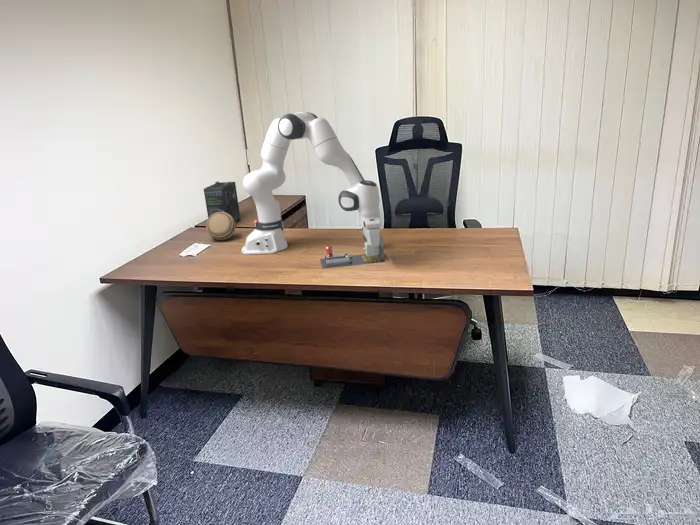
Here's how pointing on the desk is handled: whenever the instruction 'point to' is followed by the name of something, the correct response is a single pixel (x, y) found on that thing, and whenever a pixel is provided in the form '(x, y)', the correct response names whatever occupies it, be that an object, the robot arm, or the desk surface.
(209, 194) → the headset box
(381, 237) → the electrical switch
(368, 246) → the block
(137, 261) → the desk surface
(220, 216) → the mechanical component
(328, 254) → the ram
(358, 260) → the press
